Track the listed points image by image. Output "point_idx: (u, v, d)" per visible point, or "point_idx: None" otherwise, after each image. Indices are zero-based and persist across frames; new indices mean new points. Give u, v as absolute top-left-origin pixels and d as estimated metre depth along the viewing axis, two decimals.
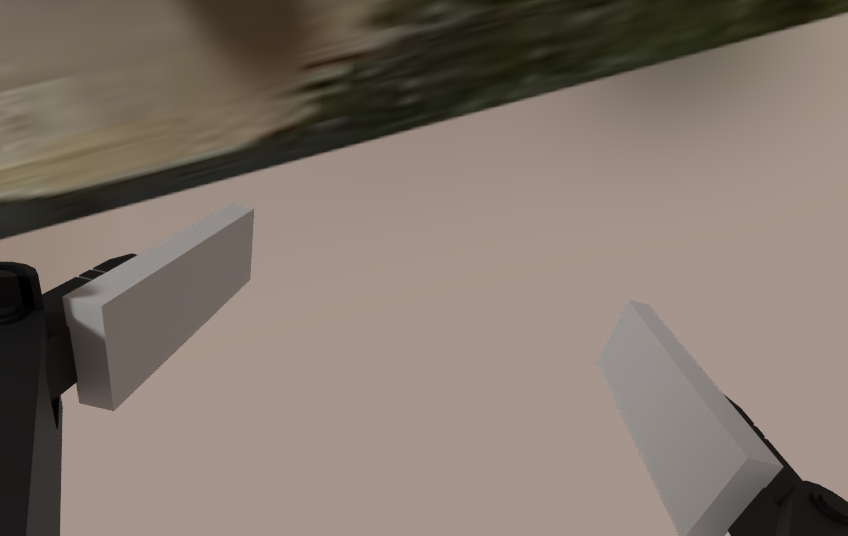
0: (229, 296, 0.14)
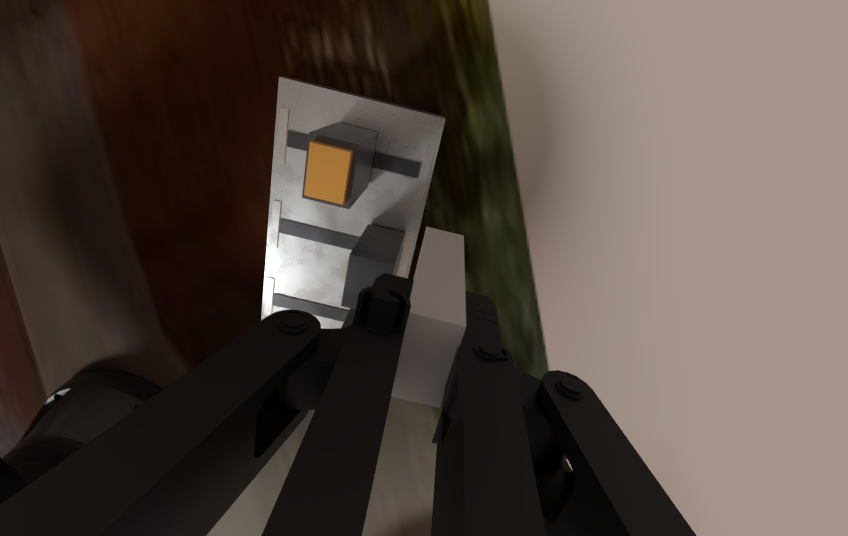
0: None
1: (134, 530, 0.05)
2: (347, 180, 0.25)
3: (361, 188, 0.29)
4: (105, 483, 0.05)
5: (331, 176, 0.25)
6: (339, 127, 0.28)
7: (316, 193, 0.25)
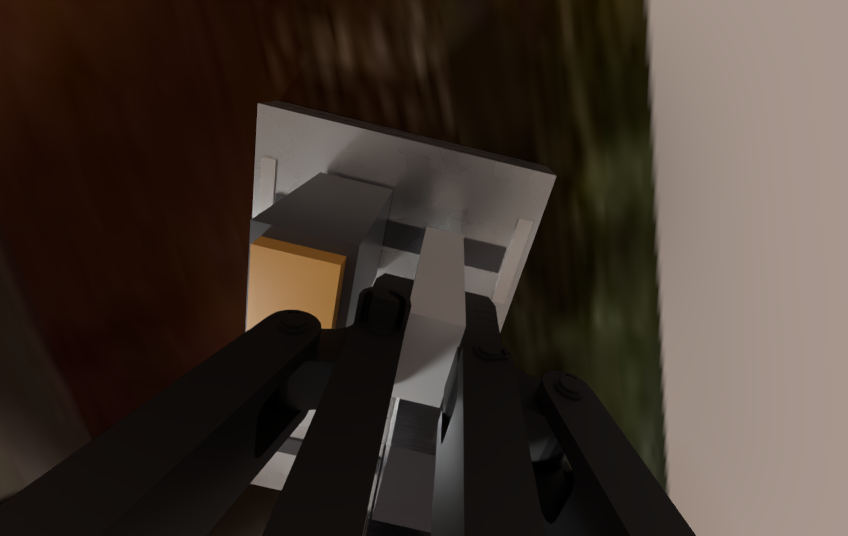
0: None
1: (134, 530, 0.05)
2: (335, 315, 0.12)
3: None
4: (105, 483, 0.05)
5: (300, 310, 0.12)
6: (323, 187, 0.15)
7: None
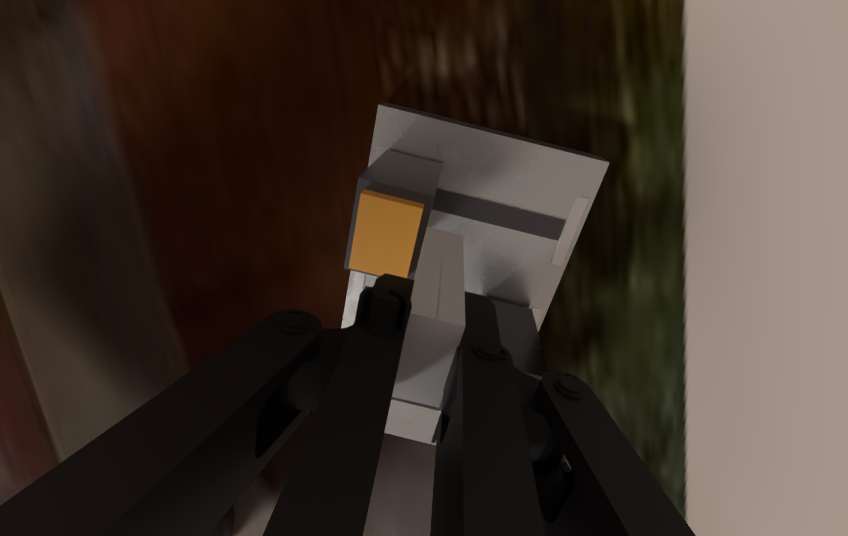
0: None
1: (135, 530, 0.05)
2: (414, 247, 0.17)
3: None
4: (106, 483, 0.05)
5: (391, 242, 0.16)
6: (393, 160, 0.20)
7: (367, 265, 0.17)
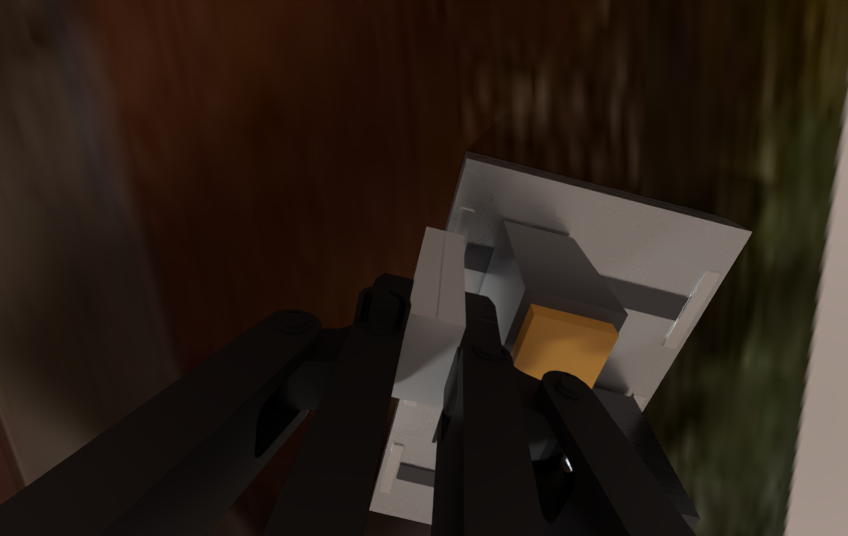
0: None
1: (135, 530, 0.05)
2: None
3: None
4: (105, 483, 0.05)
5: None
6: (527, 241, 0.16)
7: None
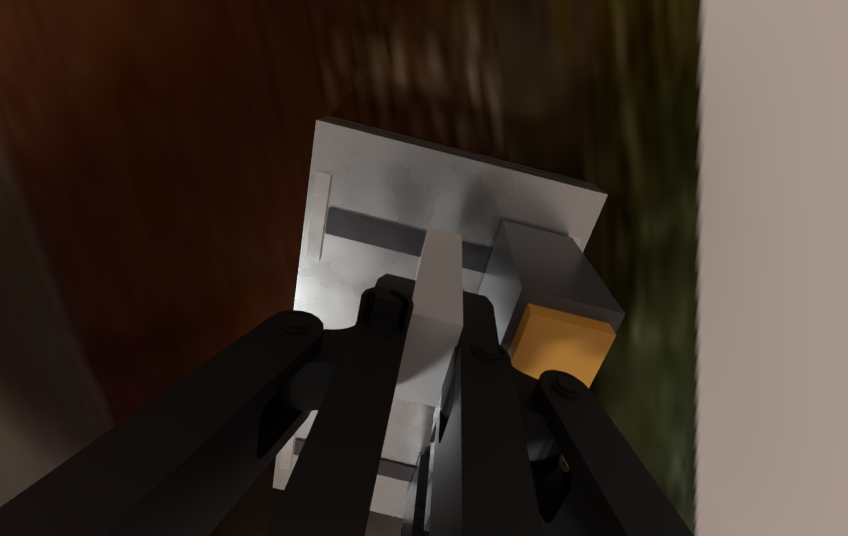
0: None
1: (137, 530, 0.05)
2: None
3: None
4: (108, 483, 0.05)
5: None
6: (525, 240, 0.16)
7: None
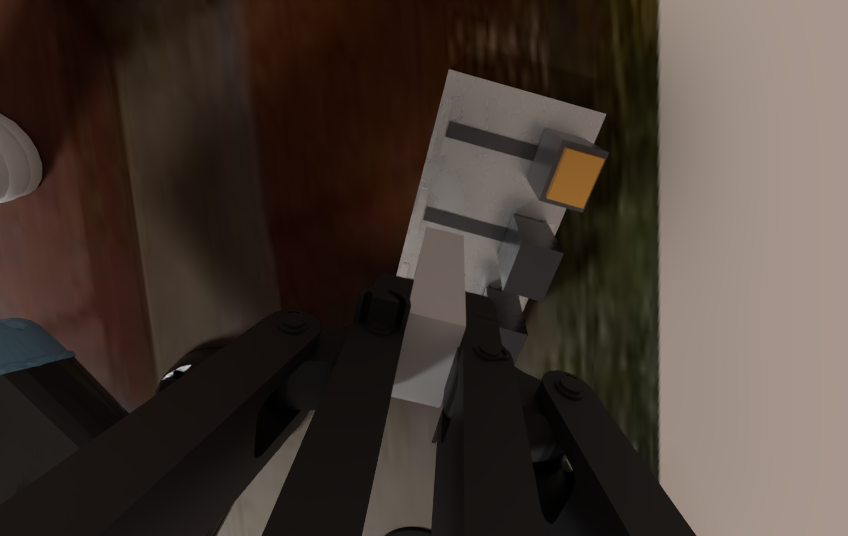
0: None
1: (134, 530, 0.05)
2: None
3: None
4: (105, 483, 0.05)
5: (579, 181, 0.26)
6: (559, 133, 0.29)
7: (559, 197, 0.27)
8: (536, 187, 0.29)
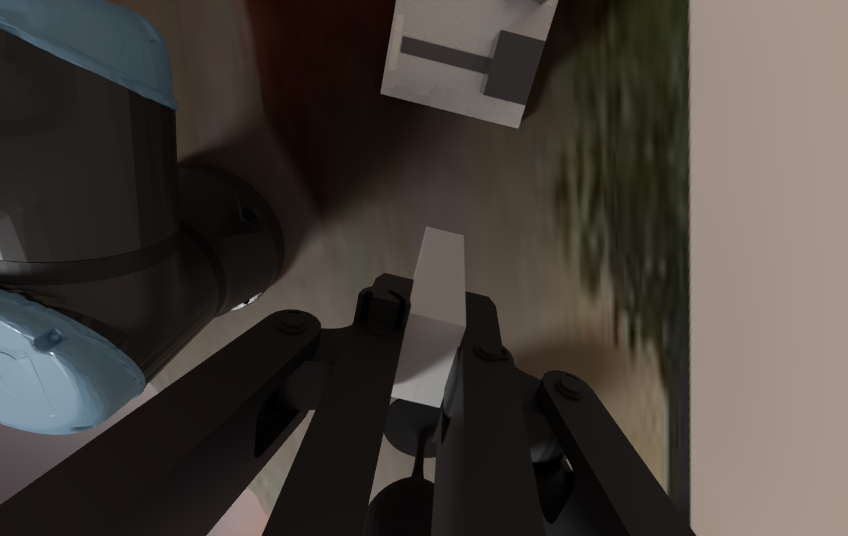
0: None
1: (134, 530, 0.05)
2: None
3: None
4: (105, 483, 0.05)
5: None
6: None
7: None
8: None
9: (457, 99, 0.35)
